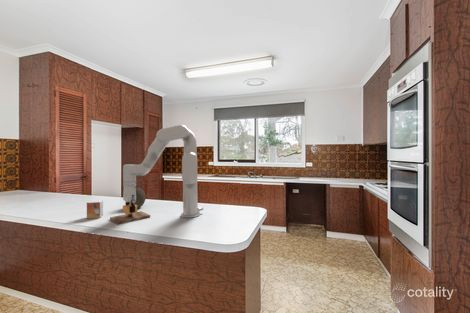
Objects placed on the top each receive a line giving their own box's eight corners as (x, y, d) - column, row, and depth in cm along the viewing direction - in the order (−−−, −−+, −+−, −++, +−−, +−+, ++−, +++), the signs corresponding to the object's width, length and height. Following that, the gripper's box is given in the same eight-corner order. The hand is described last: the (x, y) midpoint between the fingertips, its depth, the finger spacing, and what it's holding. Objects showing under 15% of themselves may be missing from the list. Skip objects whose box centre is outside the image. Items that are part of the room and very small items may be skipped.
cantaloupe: (150, 206, 174) (149, 187, 173) (133, 211, 162) (133, 190, 162) (138, 204, 181) (138, 186, 181) (122, 208, 169) (121, 188, 169)
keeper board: (141, 213, 155) (141, 203, 155) (150, 217, 145) (150, 206, 145) (109, 219, 141) (109, 208, 141) (117, 224, 131) (117, 212, 131)
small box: (86, 218, 143) (86, 202, 143) (90, 216, 149) (90, 200, 148) (100, 218, 145) (99, 202, 145) (103, 215, 150) (103, 200, 150)
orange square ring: (133, 210, 148) (133, 203, 148) (137, 212, 143) (137, 205, 143) (122, 212, 143) (122, 205, 143) (126, 214, 139) (126, 207, 138)
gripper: (118, 182, 146) (119, 210, 147) (128, 185, 134) (129, 215, 134) (130, 181, 152) (131, 208, 152) (141, 184, 139) (141, 212, 140)
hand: (130, 211), depth 143 cm, fingers closed on orange square ring, 6 cm apart
